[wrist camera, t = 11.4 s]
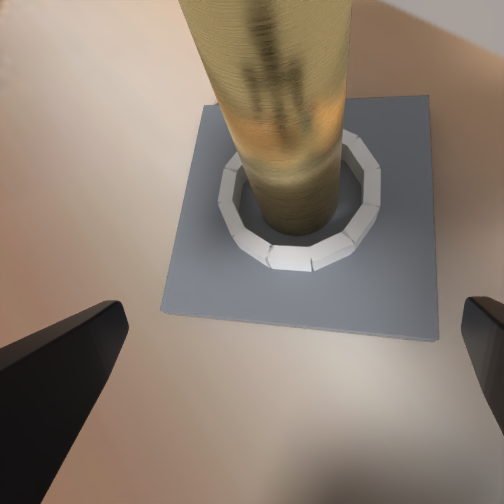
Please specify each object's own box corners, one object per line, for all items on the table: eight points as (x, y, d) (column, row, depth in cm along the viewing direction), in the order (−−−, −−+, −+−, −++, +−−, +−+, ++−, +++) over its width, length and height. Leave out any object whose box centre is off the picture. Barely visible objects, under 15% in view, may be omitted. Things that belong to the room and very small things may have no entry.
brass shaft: (311, 250, 18) (285, 12, 6) (245, 214, 20) (124, -33, 8) (352, 185, 19) (398, -133, 7) (286, 155, 21) (232, -149, 9)
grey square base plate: (431, 342, 17) (449, 335, 14) (169, 314, 20) (146, 304, 18) (423, 110, 21) (436, 74, 19) (209, 117, 25) (196, 88, 22)
